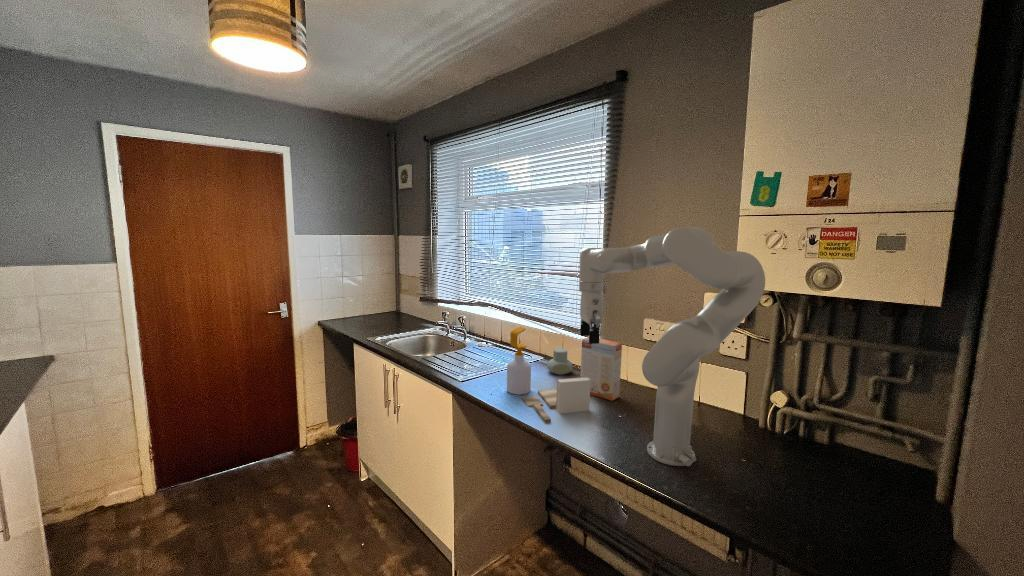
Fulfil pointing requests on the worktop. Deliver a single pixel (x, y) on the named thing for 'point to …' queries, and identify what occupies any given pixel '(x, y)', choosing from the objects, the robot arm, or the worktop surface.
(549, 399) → the cork board
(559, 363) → the air freshener
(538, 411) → the wooden turner
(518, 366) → the soap bottle
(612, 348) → the cracker box
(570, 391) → the ceramic tile
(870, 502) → the worktop surface
